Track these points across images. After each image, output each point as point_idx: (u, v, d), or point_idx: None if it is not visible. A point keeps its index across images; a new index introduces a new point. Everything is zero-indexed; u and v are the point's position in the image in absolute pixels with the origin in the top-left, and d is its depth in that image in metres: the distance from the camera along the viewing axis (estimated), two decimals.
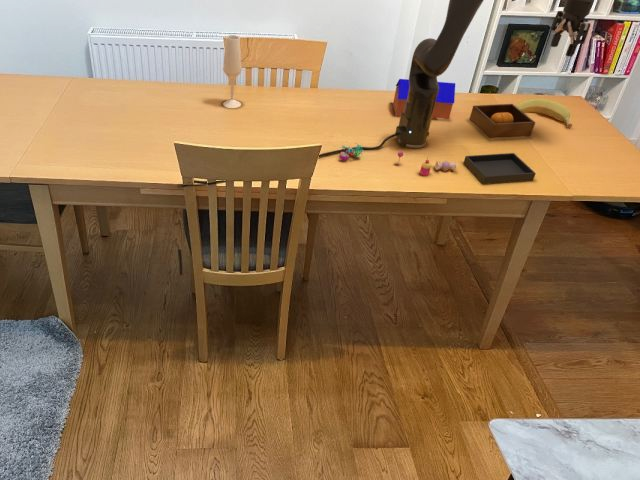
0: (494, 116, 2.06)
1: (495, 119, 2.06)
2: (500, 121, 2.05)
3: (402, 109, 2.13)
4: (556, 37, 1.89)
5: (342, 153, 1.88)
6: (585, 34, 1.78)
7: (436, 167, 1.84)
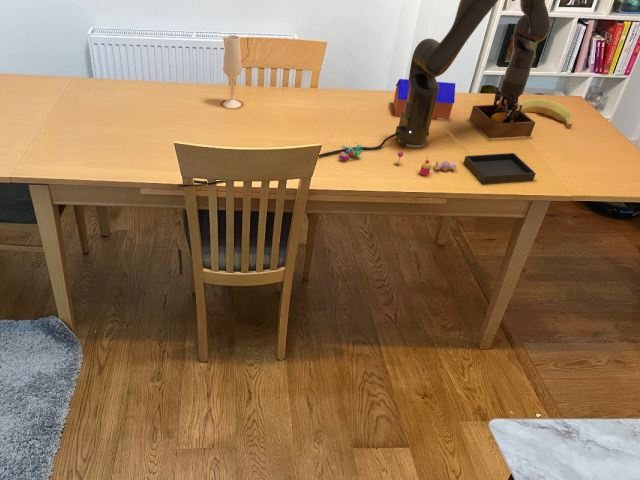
0: (494, 116, 2.06)
1: (495, 119, 2.06)
2: (500, 121, 2.05)
3: (402, 109, 2.13)
4: None
5: (342, 153, 1.88)
6: (517, 113, 2.00)
7: (436, 167, 1.84)
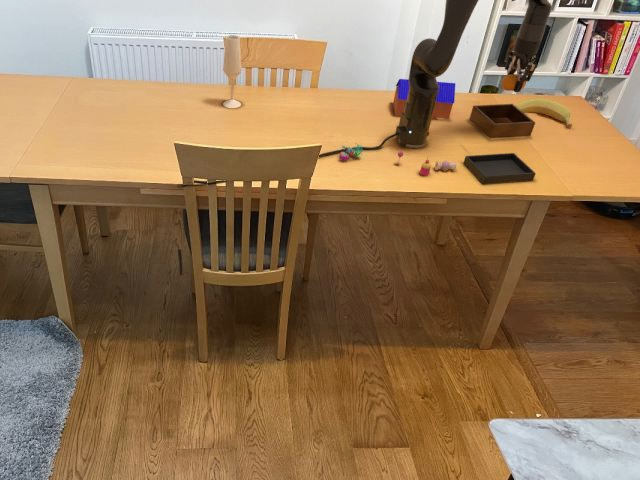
0: (506, 78, 1.96)
1: (507, 81, 1.95)
2: (513, 83, 1.95)
3: (402, 109, 2.13)
4: None
5: (342, 153, 1.88)
6: (531, 74, 1.89)
7: (436, 167, 1.84)
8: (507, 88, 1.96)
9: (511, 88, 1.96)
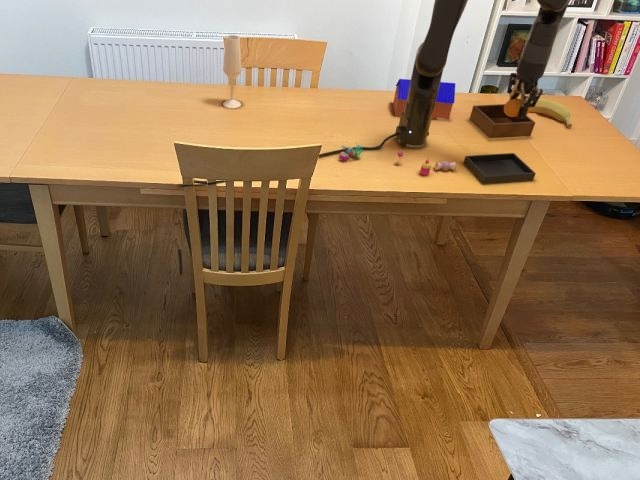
0: (509, 103, 1.75)
1: (510, 106, 1.75)
2: (516, 109, 1.75)
3: (402, 109, 2.13)
4: None
5: (342, 153, 1.88)
6: (536, 99, 1.69)
7: (436, 167, 1.84)
8: (510, 114, 1.76)
9: (514, 114, 1.76)
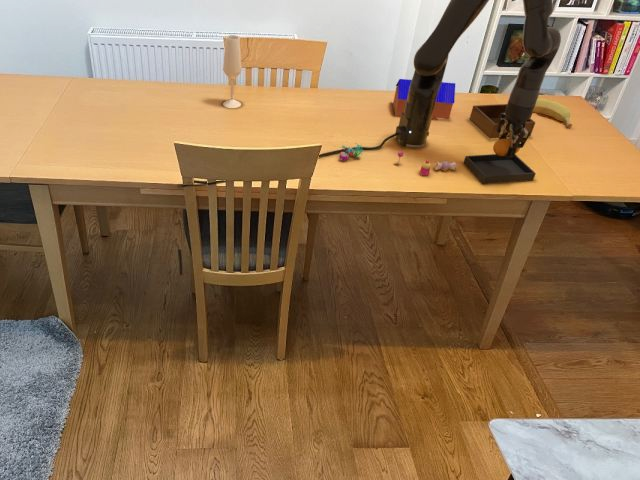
0: (498, 143, 1.79)
1: (499, 146, 1.79)
2: (505, 148, 1.78)
3: (402, 109, 2.13)
4: None
5: (342, 153, 1.88)
6: (524, 140, 1.73)
7: (436, 167, 1.84)
8: (499, 154, 1.80)
9: (503, 154, 1.79)
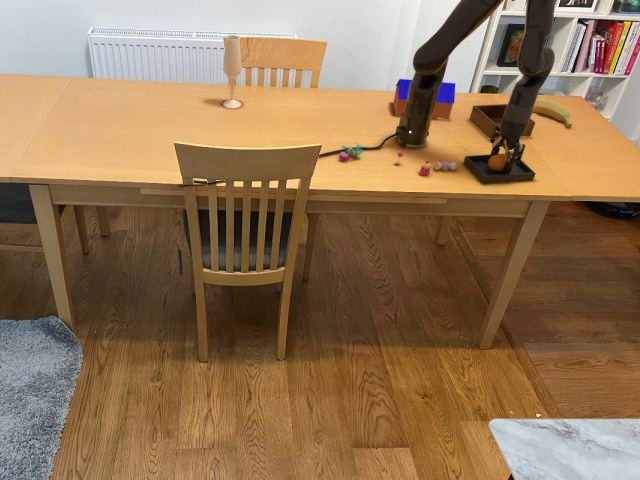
0: (493, 159, 1.82)
1: (494, 162, 1.82)
2: (499, 164, 1.82)
3: (402, 109, 2.13)
4: (495, 150, 1.86)
5: (342, 153, 1.88)
6: (520, 154, 1.75)
7: (436, 167, 1.84)
8: (494, 169, 1.83)
9: (498, 169, 1.83)
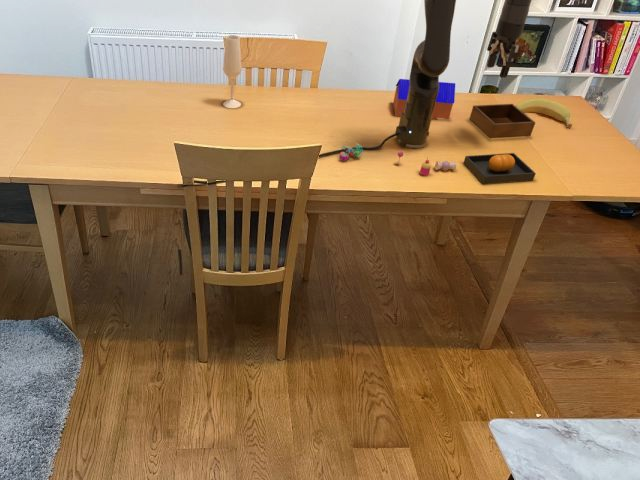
0: (493, 159, 1.82)
1: (494, 163, 1.82)
2: (500, 166, 1.82)
3: (402, 109, 2.13)
4: (492, 58, 1.88)
5: (342, 153, 1.88)
6: (516, 56, 1.78)
7: (436, 167, 1.84)
8: (494, 170, 1.83)
9: (498, 170, 1.83)
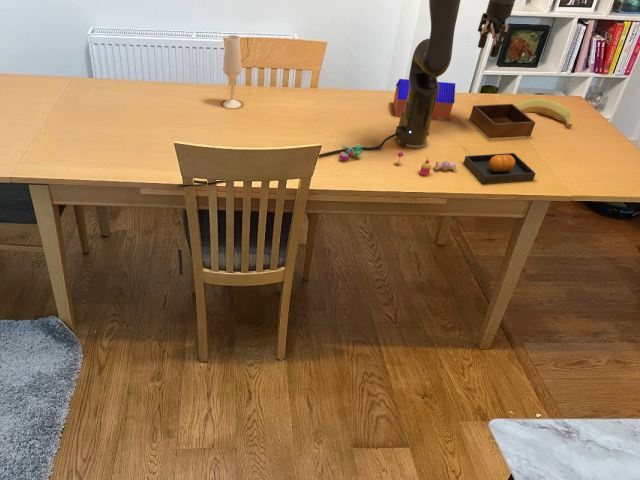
0: (494, 160, 1.82)
1: (495, 164, 1.82)
2: (500, 166, 1.81)
3: (402, 109, 2.13)
4: (482, 38, 1.95)
5: (342, 153, 1.88)
6: (506, 35, 1.84)
7: (436, 167, 1.84)
8: (494, 170, 1.83)
9: (498, 171, 1.83)
